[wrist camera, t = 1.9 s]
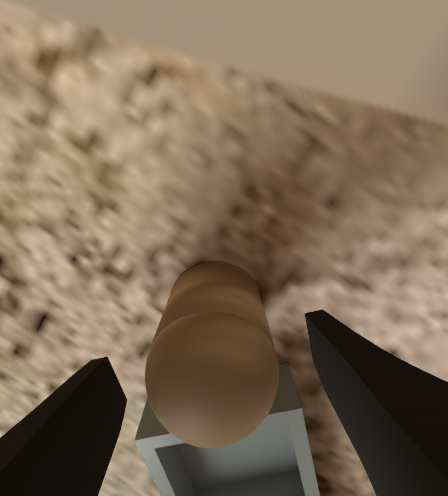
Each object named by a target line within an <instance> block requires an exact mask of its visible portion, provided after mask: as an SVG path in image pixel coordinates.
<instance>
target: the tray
mask: <svg viewBox="0 0 448 496" xmlns="http://www.w3.org/2000/svg"><path fill="white" fill-rule="evenodd" d="M278 367H279V381H278V387H277V393H276V397H275V399H274V402H273V405H272V407H271V409H270V411H269V413H268V415H267V416H266V418H265V419H264V421H263V422H262V423H261V424H260V425H259V427H258V428H257V429H256V430H254V431H253V432H252V433H251V434H250V435H249V436H247V437H246V438H244V439H242V440H240V441H238V442H236V443H234V444H232V445H229V446H225V447H219V448H202V447H197V446H193V445H190V444H188V443H185V442H183V441H182V440H180V439H178V438H177V437H175V436H173V435H172V434H171V433H170V432H169V431H168V430H167V429H166V428H165V427H164V426H163V425H162V424H161V423H160V421H159V420H158V418H157V417H156V415H155V413H154V411H153V409H152V407H151V405H150V402H149V399H148V398H147V401H146V405H145V408H144V411H143V414H142V418H141V421H140V424H139V427H138V431H137V434H136V437H135V443H136V445H137V447H138V449H139V451H140V453H141V455H142V457H143V460H144V462H145V464H146V466H147V468H148V470H149V472H150V474H151V477H152V479H153V481H154V483H155V485H156V487H157V489H158V491H159V493H160V496H320V493H319V489H318V484H317V479H316V474H315V469H314V464H313V460H312V455H311V450H310V445H309V440H308V436H307V431H306V426H305V421H304V416H303V411H302V407H301V404H300V401H299V398H298V395H297V391H296V388H295V385H294V382H293V379H292V376H291V373H290V369H289V366H288V363H283V364H279V365H278Z"/></svg>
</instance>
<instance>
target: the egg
mask: <svg viewBox="0 0 448 496" xmlns="http://www.w3.org/2000/svg"><path fill="white" fill-rule="evenodd" d="M278 381H279V367H278V360H277V355H276V351H275V347H274V344H273V340H272V337H271V333H270V329H269V326H268V322H267V318H266V315H265V311H264V307H263V304H262V300H261V297H260V293H259V290H258V287H257V285H256V283H255V282H254V280H253V279H252V277H251V276H250V275H249V274H248V273H247V272H245V271H244V270H243V269H241V268H240V267H238V266H235V265H233V264H230V263H226V262H221V261H209V262H204V263H200V264H197V265H195V266H193V267H191V268H189V269H188V270H186V271H185V272H184V273H183V274H182V275H181V276H180V277H179V278H178V279H177V281H176V282H175V284H174V286H173V288H172V291H171V294H170V297H169V299H168V302H167V305H166V307H165V310H164V313H163V315H162V318H161V321H160V323H159V326H158V329H157V331H156V334H155V337H154V340H153V342H152V345H151V348H150V351H149V354H148V357H147V362H146V370H145V383H146V390H147V395H148V399H149V402H150V405H151V407H152V409H153V411H154V413H155V415H156V417H157V418H158V420H159V421H160V423H161V424H162V425H163V426H164V427H165V428H166V429H167V430H168V431H169V432H170V433H171V434H172V435H173V436H175V437H177V438H178V439H180V440H182V441H183V442H185V443H188V444H190V445H193V446H197V447H202V448H219V447H225V446H229V445H232V444H234V443H236V442H238V441H240V440H242V439H244V438H246V437H247V436H249V435H250V434H251V433H252V432H253V431H254V430H256V429H257V428H258V427H259V425H260V424H261V423H262V422H263V421H264V419H265V418H266V416H267V415H268V413H269V411H270V409H271V407H272V405H273V402H274V399H275V397H276V393H277V387H278Z"/></svg>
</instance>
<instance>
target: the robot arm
mask: <svg viewBox="0 0 448 496" xmlns="http://www.w3.org/2000/svg"><path fill="white" fill-rule="evenodd" d="M305 317H306V323H307V329H308V334H309V340H310V346H311V351H312V357H313V362H314V364H315V367H316V370H317V372H318V375H319V377H320V380H321V382H322V385H323V388H324V390H325V392H326V394H327V396H328V398H329V400H330V402H331V404H332V406H333V407H334V409H335V411H336V413H337V415H338V417H339V419H340V421H341V423H342V425H343V427H344V429H345V431H346V433H347V435H348V436H349V438H350V440H351V442H352V444H353V446H354V448H355V450H356V452H357V454H358V456H359V458H360V460H361V462H362V464H363V466H364V468H365V470H366V472H367V474H368V477H369V479H370V481H371V484H372V486H373V488H374V491H375V493H376V495H377V496H448V382H446V381H444V380H442V379H440V378H438V377H436V376H433V375H431V374H429V373H427V372H425V371H423V370H421V369H419V368H417V367H415V366H413V365H411V364H409V363H407V362H405V361H403V360H401V359H399V358H397V357H396V356H394V355H392V354H390V353H388V352H387V351H385V350H383V349H381V348H380V347H378V346H376V345H375V344H373V343H372V342H370V341H368V340H367V339H365V338H364V337H362V336H361V335H359V334H357V333H356V332H354V331H353V330H351V329H350V328H348V327H347V326H346V325H344V324H343V323H341V322H340V321H338V320H337V319H335V318H334V317H333V316H331V315H330V314H328V313H327V312H325V311H324V310H318V311H314V312H309V313H305ZM126 403H127V398H126V396H125V394H124V392H123V390H122V388H121V385H120V383H119V381H118V379H117V377H116V374H115V372H114V370H113V368H112V366H111V364H110V361H109V359H108V357H104V358H99V359H94V360H91V361H90V362H88V363H87V364H86V365H84V366H83V367H82V368H81V369H80V370H78V371H77V372H76V373H75V374H74V375H72V376H71V377H70V378H69V379H68V380H67V381H66V382H64V383H63V384H62V385H61V386H60V387H59V388H58V389H57V390H55V391H54V392H53V393H52V394H51V395H50V396H49V397H48V398H46V399H45V400H44V401H43V402H42V403H41V404H40V405H39V406H37V407H36V408H35V409H34V410H33V411H32V412H30V413H29V414H28V415H27V416H26V417H24V418H23V419H22V420H21V421H20V422H19V423H17V424H16V425H15V426H14V427H13V428H11V429H10V430H9V431H8V432H7V433H6V434H4V435H3V436H2V437H1V438H0V496H98V494H99V491H100V488H101V485H102V482H103V479H104V477H105V474H106V471H107V468H108V465H109V462H110V460H111V457H112V454H113V451H114V448H115V445H116V442H117V439H118V436H119V433H120V430H121V426H122V422H123V418H124V413H125V408H126Z"/></svg>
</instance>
